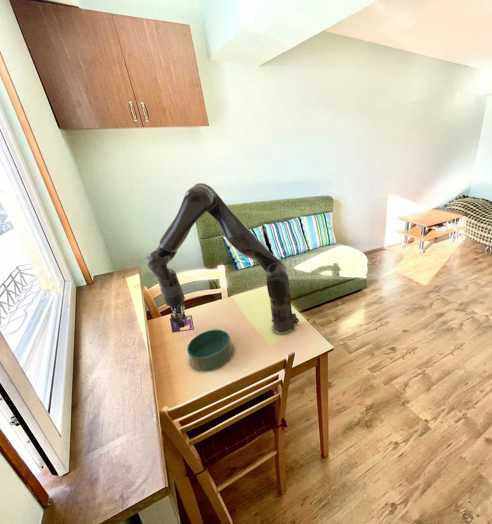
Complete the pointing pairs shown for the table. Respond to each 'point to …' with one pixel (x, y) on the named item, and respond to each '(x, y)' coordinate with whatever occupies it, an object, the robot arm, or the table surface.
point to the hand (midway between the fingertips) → (183, 323)
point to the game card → (187, 322)
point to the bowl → (210, 350)
